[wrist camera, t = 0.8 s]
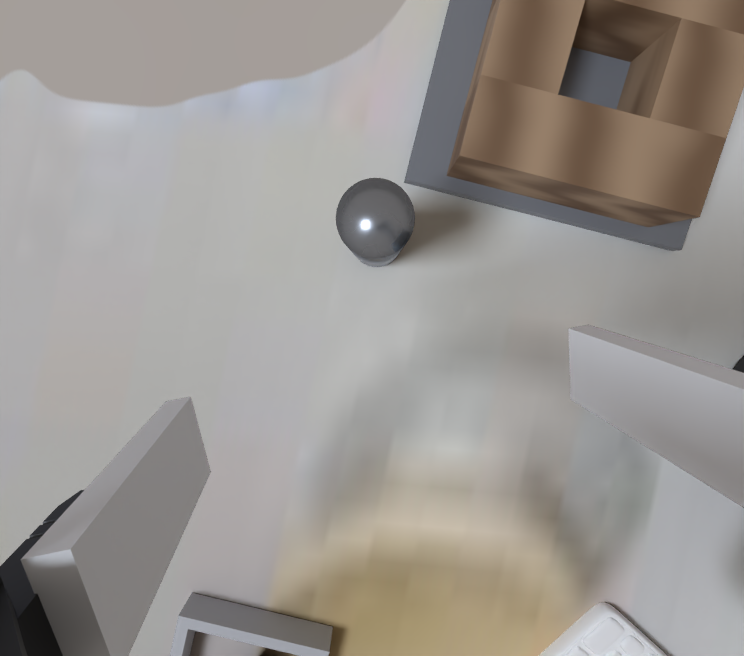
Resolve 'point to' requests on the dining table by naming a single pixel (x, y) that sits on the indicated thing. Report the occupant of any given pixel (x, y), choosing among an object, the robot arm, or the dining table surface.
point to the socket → (583, 110)
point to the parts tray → (248, 628)
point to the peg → (375, 220)
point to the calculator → (602, 636)
